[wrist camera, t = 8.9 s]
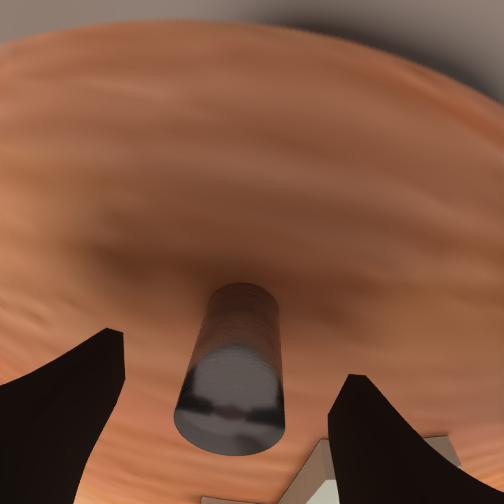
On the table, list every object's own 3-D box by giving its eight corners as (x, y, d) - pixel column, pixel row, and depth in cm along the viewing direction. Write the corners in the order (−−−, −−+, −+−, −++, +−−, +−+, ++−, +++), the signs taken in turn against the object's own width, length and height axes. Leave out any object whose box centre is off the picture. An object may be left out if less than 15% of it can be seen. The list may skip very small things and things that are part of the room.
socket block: (447, 435, 16) (461, 465, 14) (384, 500, 20) (390, 526, 17) (320, 439, 16) (326, 479, 13) (277, 503, 19) (277, 533, 17)
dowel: (286, 290, 13) (298, 399, 7) (269, 349, 14) (270, 461, 8) (212, 276, 13) (176, 378, 7) (202, 336, 14) (172, 444, 8)
